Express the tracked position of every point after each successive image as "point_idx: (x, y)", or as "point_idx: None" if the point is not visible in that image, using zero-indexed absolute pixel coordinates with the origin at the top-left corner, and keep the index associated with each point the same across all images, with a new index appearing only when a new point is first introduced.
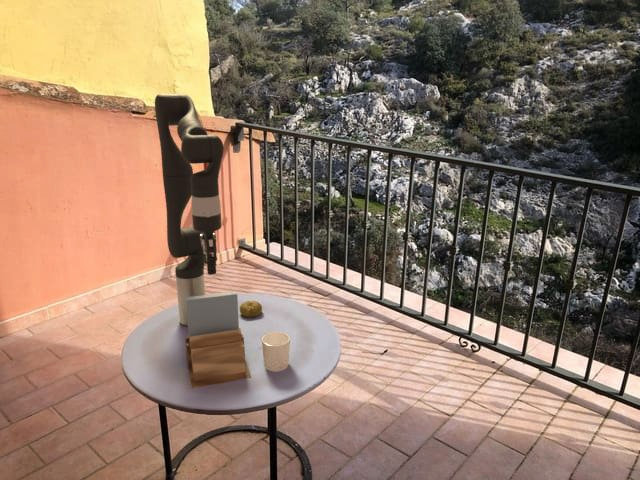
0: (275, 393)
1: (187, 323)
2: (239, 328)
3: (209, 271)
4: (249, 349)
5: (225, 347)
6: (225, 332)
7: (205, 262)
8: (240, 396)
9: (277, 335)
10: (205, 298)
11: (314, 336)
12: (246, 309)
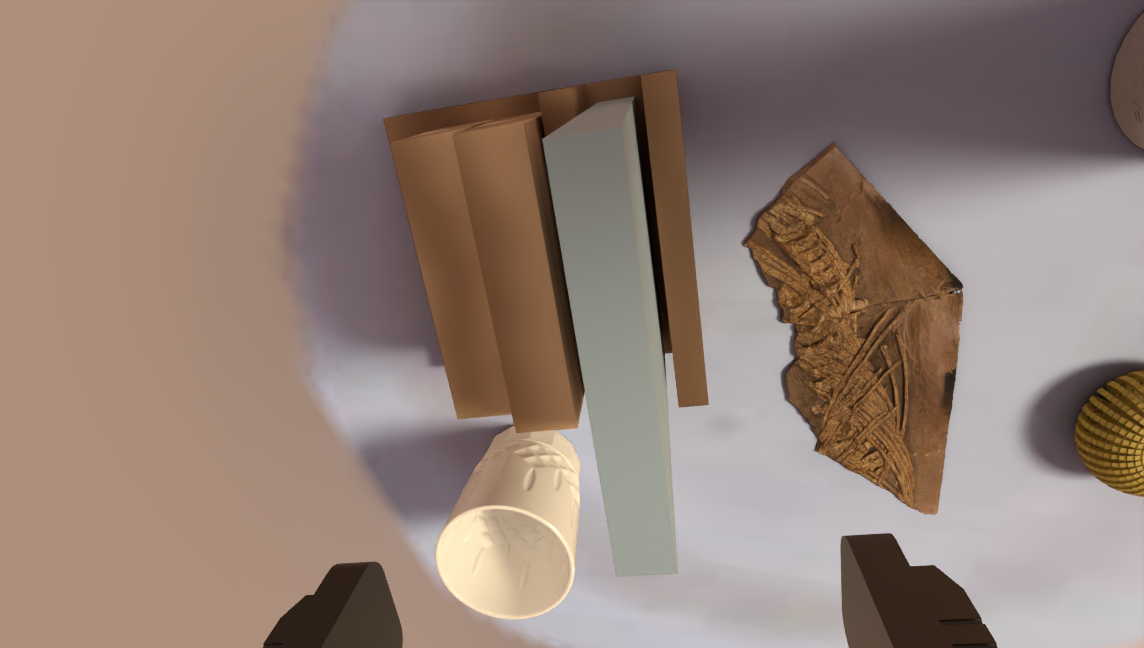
0: (374, 440)
1: (1141, 30)
2: (703, 400)
3: (283, 621)
4: (721, 378)
5: (455, 326)
6: (549, 347)
7: (848, 558)
8: (361, 318)
9: (569, 567)
10: (574, 323)
11: (765, 637)
12: (1122, 418)
